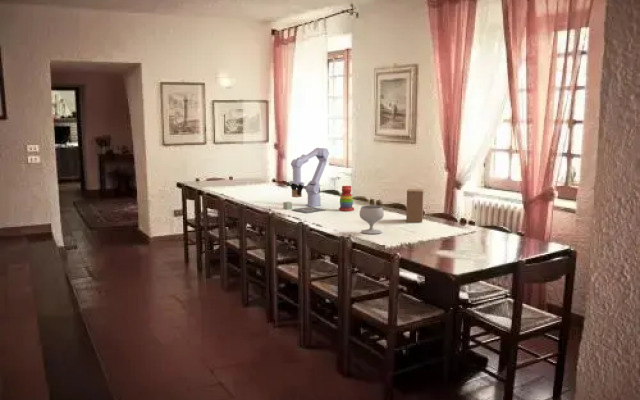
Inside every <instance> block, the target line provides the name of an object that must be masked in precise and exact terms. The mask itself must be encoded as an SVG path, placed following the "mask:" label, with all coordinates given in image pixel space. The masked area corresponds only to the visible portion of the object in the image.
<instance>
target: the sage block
mask: <svg viewBox="0 0 640 400" xmlns="http://www.w3.org/2000/svg"><path fill="white" fill-rule="evenodd" d="M282 209H283V210H286V211H287V210H288V211H289V210H293V203H292V201H284V202H283V207H282Z"/></svg>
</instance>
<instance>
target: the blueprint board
mask: <svg viewBox="0 0 640 400" xmlns="http://www.w3.org/2000/svg"><path fill="white" fill-rule="evenodd" d="M292 211H293V212H298V213H302V214H312V213H318V212H323V211H326V208H325V209H324V208H320V207H315V206H307V207H301V208H300V207H299V208H294V209H293V208H292V209H291V212H292Z"/></svg>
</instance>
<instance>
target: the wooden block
mask: <svg viewBox="0 0 640 400" xmlns="http://www.w3.org/2000/svg"><path fill="white" fill-rule="evenodd" d="M405 213H406V219H405V222H406V223H420V222H422V223H423V221H424V220H423V219H424V217H423V215H424V189H421V188H407V190H406V212H405Z"/></svg>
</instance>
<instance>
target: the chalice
mask: <svg viewBox="0 0 640 400" xmlns="http://www.w3.org/2000/svg"><path fill="white" fill-rule="evenodd" d="M384 216H385V214H384V209H383V207H382V206H380V205H374V204H373V205H372V204H371V205H370V204H369V205H362V206H361V207H360V210H359V218H360V219H362V220H363V221H365V222H366V223H368V225H369V227H368V228H367V229H362V230H361V231H360V232H361V233H362V234H368V235H377V234H381V233H382V230H380V229H375V228H374V225H375V224H376V223H377V222H379V221H381V220H382V219H383V218H384Z"/></svg>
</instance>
